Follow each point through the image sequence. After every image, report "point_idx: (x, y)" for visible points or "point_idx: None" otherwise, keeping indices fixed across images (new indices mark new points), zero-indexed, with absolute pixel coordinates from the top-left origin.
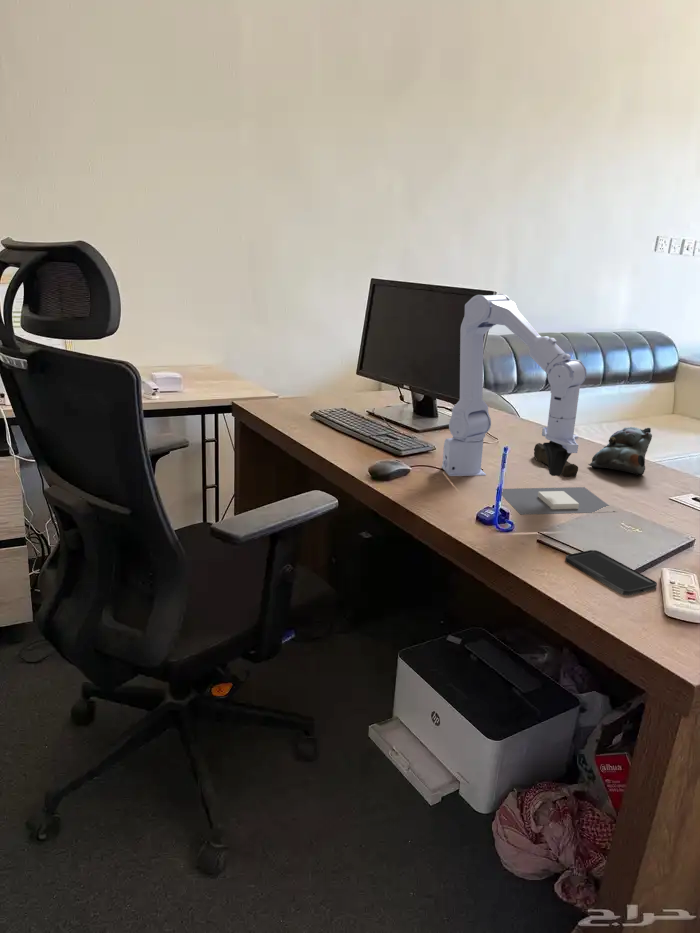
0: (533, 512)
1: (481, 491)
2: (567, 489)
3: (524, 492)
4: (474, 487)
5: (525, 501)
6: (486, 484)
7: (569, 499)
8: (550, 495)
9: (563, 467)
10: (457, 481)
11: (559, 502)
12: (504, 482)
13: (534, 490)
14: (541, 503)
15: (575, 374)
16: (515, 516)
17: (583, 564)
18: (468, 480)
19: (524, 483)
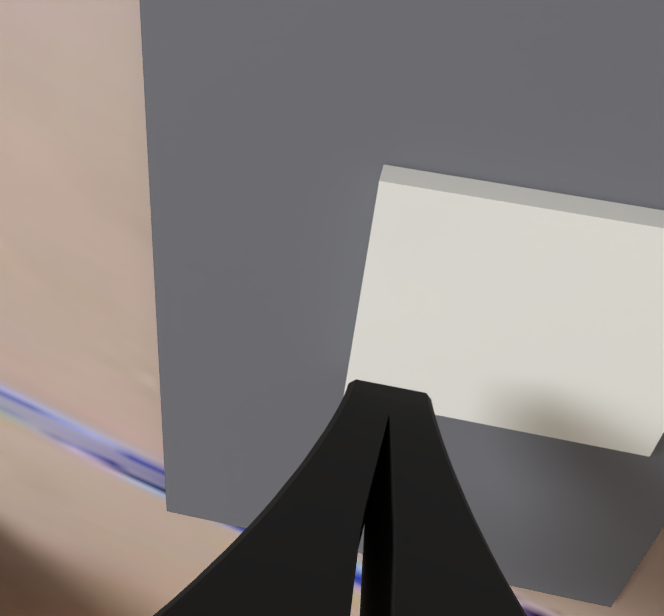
0: (620, 543)
1: (182, 561)
2: None
3: (246, 402)
4: (117, 558)
5: None
6: (62, 490)
7: (621, 268)
8: (457, 363)
9: (453, 472)
10: (27, 577)
11: (644, 393)
12: (10, 386)
13: (209, 316)
14: None
15: None
16: (596, 612)
17: None
18: (2, 532)
19: (13, 270)
